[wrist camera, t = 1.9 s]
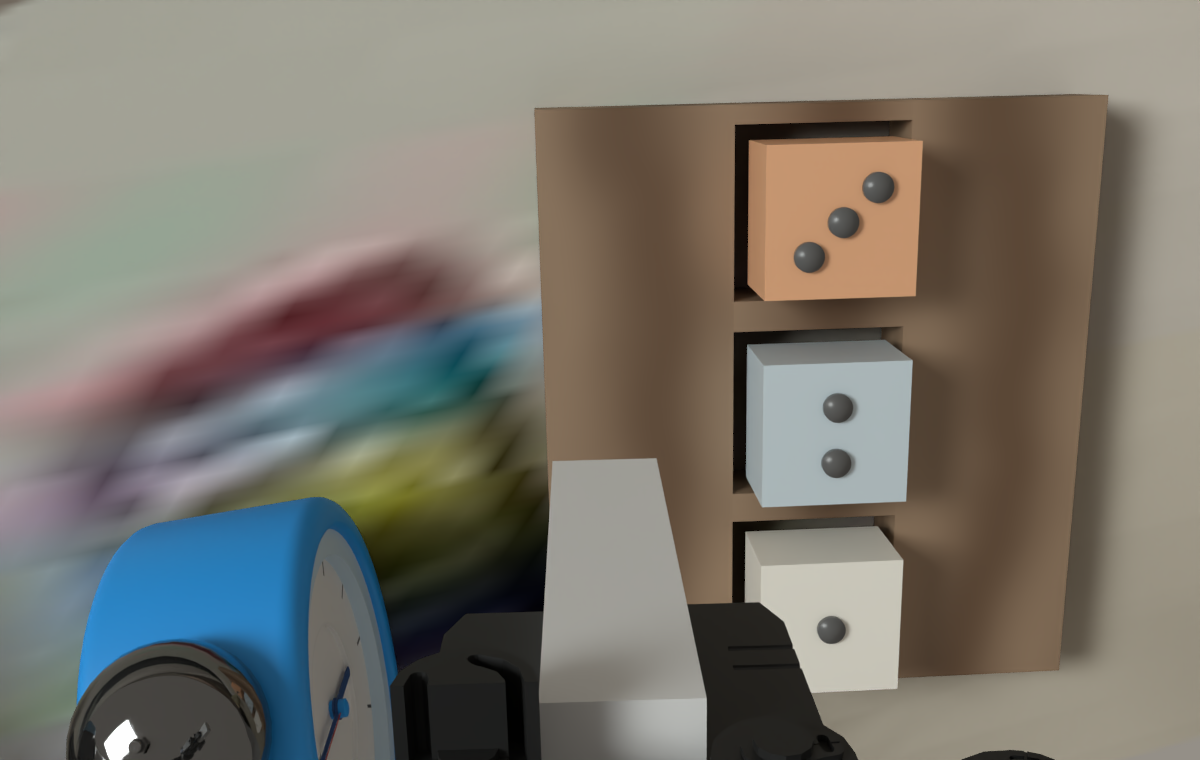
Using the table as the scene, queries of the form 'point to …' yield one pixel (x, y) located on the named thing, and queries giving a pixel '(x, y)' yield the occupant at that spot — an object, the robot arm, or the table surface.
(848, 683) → the tile
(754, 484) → the two-dot tile
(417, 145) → the table surface
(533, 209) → the table surface
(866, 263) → the tile
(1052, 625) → the board
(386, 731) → the alarm clock
